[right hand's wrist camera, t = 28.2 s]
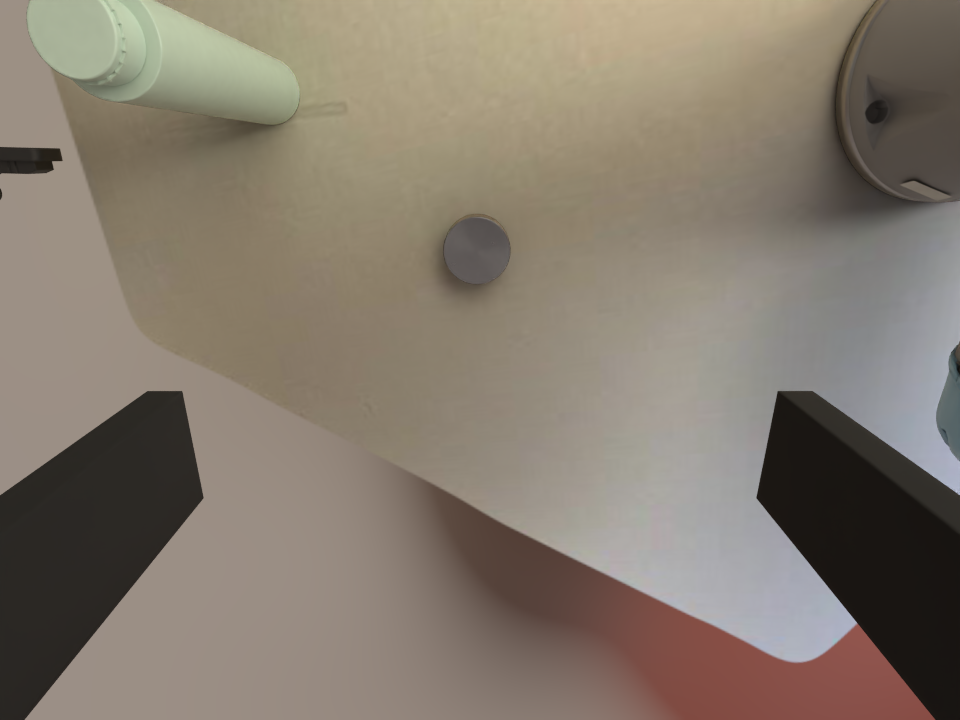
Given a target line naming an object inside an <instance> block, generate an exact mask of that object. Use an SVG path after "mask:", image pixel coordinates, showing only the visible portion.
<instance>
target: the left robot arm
mask: <svg viewBox="0 0 960 720" xmlns="http://www.w3.org/2000/svg"><path fill="white" fill-rule="evenodd" d="M52 161H62V156H61V152H60V149H55V148H14V147H0V174H1V173H16V174H17V173H18V174H35V173H47V172H49V171H52V170H54V169H53V164H52ZM1 198H2V192H1V189H0V199H1Z"/></svg>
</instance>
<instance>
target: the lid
mask: <svg viewBox="0 0 960 720" xmlns="http://www.w3.org/2000/svg"><path fill="white" fill-rule="evenodd" d="M509 258H510V243H509V239H508V236H507V234H506V232H505V230H504V228H503V227H502V226H501V224H500V223H499V222H498V221H496V220H495V219H493V218H491V217H489V216H487V215H483V214H472V215H467V216H465V217H463V218H461V219H459V220H458V221H457V222H455V223H454V225H453V226H452V227H451V228H450V230H449V232H448V234H447V236H446V239H445V242H444V259H445V262H446V264H447V266H448V268H449V270H450V271H451V272H452V273H453V274H454V275H455V276H456V277H457V278H458V279H460V280H462V281H464V282H467V283H471V284H483V283H487V282H490V281H492V280H494V279H496V278H497V277H498V276H499V275H500V274H501V273H502V272H503V271H504V270H505V268H506V266H507V264H508V262H509Z"/></svg>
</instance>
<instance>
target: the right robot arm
mask: <svg viewBox="0 0 960 720" xmlns="http://www.w3.org/2000/svg"><path fill="white" fill-rule="evenodd" d="M836 120H837V127H838V132H839V136H840V140H841V143H842V146H843V148H844V151H845V153H846V155H847V157H848V159H849V161H850V162H851V164H852V165H853V167H854V168H855V169H856V171H857V172H858V173H859V174H860V175H861V176H862V177H863V178H864V179H865V180H866V181H867V182H868V183H870V184H871V185H873V186H874V187H875V188H877V189H879V190H881V191H883V192H884V193H886V194H889V195H892V196H894V197H898V198H902V199H906V200H914V201H923V202H953V201H960V0H877V1H876V2H875V4H874V5H873V6H872V7H871V9H870V10H869V12H868V13H867V15H866V16H865V17H864V19H863V21H862V22H861V24H860V26H859V27H858V29H857V31H856V33H855V35H854V37H853V39H852V41H851V43H850V45H849V47H848V50H847V53H846V55H845V58H844V61H843V64H842V68H841V71H840V76H839V80H838V86H837V94H836ZM936 421H937V427H938V430H939V432H940V434H941V436H942V438H943V440H944V442H945V443H946V444H947V445H948V446H949V447H950V450H951V452H952V453H953V454H954V456H955V457H956V458H957V459H958V460H959V461H960V342H959V345H956V347H955V348H954V350H953V351H952V352H951V355H950V356H949V374H948V377H947V380H946V384H945V387H944V389H943V392H942V395H941V398H940V401H939V404H938V408H937V415H936ZM202 499H203V493H202V488H201V483H200V478H199V473H198V468H197V463H196V458H195V453H194V448H193V443H192V438H191V433H190V428H189V423H188V418H187V413H186V408H185V403H184V398H183V393H182V391H147V392H146V393H144V394H143V395H141V396H140V397H139V398H137V399H136V400H134V401H133V402H132V403H130V404H129V405H127V406H126V407H124V408H123V409H122V410H120V411H119V412H118V413H116V414H115V415H113V416H112V417H110V418H109V419H108V420H106V421H105V422H103V423H102V424H100V425H99V426H98V427H96V428H95V429H93V430H92V431H91V432H89V433H88V434H86V435H85V436H84V437H82V438H81V439H79V440H78V441H77V442H75V443H74V444H72V445H71V446H69V447H68V448H67V449H65V450H64V451H62V452H61V453H59V454H58V455H57V456H55V457H54V458H52V459H51V460H50V461H48V462H47V463H45V464H44V465H43V466H41V467H40V468H38V469H37V470H35V471H34V472H33V473H31V474H30V475H28V476H27V477H26V478H24V479H23V480H21V481H20V482H19V483H17V484H16V485H14V486H13V487H11V488H10V489H9V490H7V491H6V492H4V493H3V494H2V495H0V720H25V718H26V717H27V716H28V715H29V713H30V712H31V711H32V710H33V708H34V707H35V706H36V705H37V704H38V702H39V701H40V700H41V699H42V697H43V696H44V695H45V694H46V692H47V691H48V690H49V689H50V687H51V686H52V685H53V684H54V683H55V681H56V680H57V679H58V678H59V676H60V675H61V674H62V673H63V671H64V670H65V669H66V668H67V666H68V665H69V664H70V663H71V661H72V660H73V659H74V658H75V657H76V655H77V654H78V653H79V652H80V650H81V649H82V648H83V647H84V645H85V644H86V643H87V642H88V640H89V639H90V638H91V637H92V636H93V634H94V633H95V632H96V631H97V629H98V628H99V627H100V626H101V624H102V623H103V622H104V621H105V619H106V618H107V617H108V616H109V614H110V613H111V612H112V611H113V610H114V608H115V607H116V606H117V605H118V603H119V602H120V601H121V600H122V598H123V597H124V596H125V595H126V593H127V592H128V591H129V590H130V588H131V587H132V586H133V585H134V583H135V582H136V581H137V580H138V579H139V577H140V576H141V575H142V574H143V572H144V571H145V570H146V569H147V567H148V566H149V565H150V564H151V562H152V561H153V560H154V559H155V558H156V556H157V555H158V554H159V553H160V551H161V550H162V549H163V548H164V546H165V545H166V544H167V543H168V541H169V540H170V539H171V538H172V536H173V535H174V534H175V533H176V532H177V530H178V529H179V528H180V527H181V525H182V524H183V523H184V522H185V520H186V519H187V518H188V517H189V515H190V514H191V513H192V512H193V510H194V509H195V508H196V507H197V505H198V504H199V503H200V502H201V501H202ZM757 499H758V501H759V502H760V503H761V504H762V506H763V507H764V508H765V509H766V510H767V512H768V513H769V514H770V515H771V517H772V518H773V519H774V520H775V522H776V523H777V524H778V525H779V527H780V528H781V529H782V530H783V532H784V533H785V534H786V535H787V536H788V538H789V539H790V540H791V541H792V543H793V544H794V545H795V546H796V548H797V549H798V550H799V551H800V553H801V554H802V555H803V556H804V558H805V559H806V560H807V561H808V562H809V564H810V565H811V566H812V567H813V569H814V570H815V571H816V572H817V574H818V575H819V576H820V577H821V579H822V580H823V581H824V582H825V584H826V585H827V586H828V587H829V588H830V590H831V591H832V592H833V593H834V595H835V596H836V597H837V598H838V600H839V601H840V602H841V603H842V605H843V606H844V607H845V608H846V610H847V611H848V612H849V613H850V614H851V616H852V617H853V618H854V619H855V621H856V622H857V623H858V624H859V625H860V627H861V628H862V629H863V631H864V632H865V633H866V634H867V636H868V637H869V638H870V639H871V640H872V642H873V643H874V644H875V645H876V647H877V648H878V649H879V650H880V652H881V653H882V654H883V655H884V657H885V658H886V659H887V660H888V662H889V663H890V664H891V665H892V666H893V668H894V669H895V670H896V671H897V673H898V674H899V675H900V676H901V678H902V679H903V680H904V681H905V683H906V684H907V685H908V686H909V688H910V689H911V690H912V691H913V692H914V694H915V695H916V696H917V697H918V699H919V700H920V701H921V702H922V704H923V705H924V706H925V707H926V709H927V710H928V711H929V712H930V714H931V715H932V716H933V717H934V718H935V720H960V495H958V494H957V493H956V492H954V491H953V490H951V489H950V488H949V487H947V486H946V485H944V484H943V483H941V482H940V481H939V480H937V479H936V478H934V477H933V476H932V475H930V474H929V473H927V472H926V471H925V470H923V469H922V468H920V467H919V466H917V465H916V464H915V463H913V462H912V461H910V460H909V459H908V458H906V457H905V456H903V455H902V454H901V453H899V452H898V451H896V450H895V449H893V448H892V447H891V446H889V445H888V444H886V443H885V442H884V441H882V440H881V439H879V438H878V437H877V436H875V435H874V434H872V433H871V432H869V431H868V430H867V429H865V428H864V427H862V426H861V425H860V424H858V423H857V422H855V421H854V420H852V419H851V418H850V417H848V416H847V415H845V414H844V413H843V412H841V411H840V410H838V409H837V408H836V407H834V406H833V405H831V404H830V403H828V402H827V401H826V400H824V399H823V398H821V397H820V396H819V395H817V394H816V393H814V392H813V391H778V393H777V398H776V403H775V408H774V413H773V418H772V423H771V428H770V433H769V438H768V443H767V448H766V453H765V458H764V463H763V468H762V473H761V478H760V483H759V488H758V493H757Z"/></svg>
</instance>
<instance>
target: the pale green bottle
mask: <svg viewBox="0 0 960 720" xmlns="http://www.w3.org/2000/svg"><path fill="white" fill-rule="evenodd" d="M26 20H27V28H28V32H29V36H30V38H31V41H32V43H33V45H34V47H35V49H36V51H37V52H38V54H39V55H40V56H41V58H42V59H43V60H44V61H45V62H46V63H47V64H48V65H49V66H50V67H51V68H53V69H54V70H55V71H57V72H58V73H60V74H62V75H64V76H66V77H68V78H70V79H72V80H73V81H74V82H75V83H76V84H77V85H78V86H80V87H81V88H82V89H83V90H85V91H86V92H88V93H90V94H91V95H93V96H95V97H98V98H100V99H103V100H106V101H112V102H118V103H125V104H132V105H138V106H145V107H152V108H159V109H166V110H172V111H179V112H186V113H193V114H200V115H206V116H213V117H220V118H227V119H234V120H240V121H247V122H254V123H261V124H267V125H277V124H281V123H283V122H285V121H287V120H288V119H290V118H291V117H292V116H293V114H294V113H295V111H296V109H297V107H298V104H299V99H300V91H299V85H298V82H297V80H296V77H295V75H294V74H293V72H292V71H291V69H290V68H289V67H288V66H287V65H286V64H284V63H283V62H282V61H280V60H278V59H276V58H274V57H272V56H270V55H268V54H266V53H264V52H262V51H259V50H257V49H255V48H253V47H251V46H249V45H247V44H245V43H243V42H241V41H238V40H236V39H234V38H232V37H230V36H228V35H226V34H224V33H222V32H220V31H218V30H215V29H213V28H211V27H209V26H207V25H205V24H203V23H201V22H199V21H197V20H194V19H192V18H190V17H188V16H186V15H184V14H182V13H180V12H178V11H176V10H174V9H171V8H169V7H167V6H165V5H163V4H161V3H159V2H157V1H155V0H30V1H29V4H28V7H27V19H26Z"/></svg>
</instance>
